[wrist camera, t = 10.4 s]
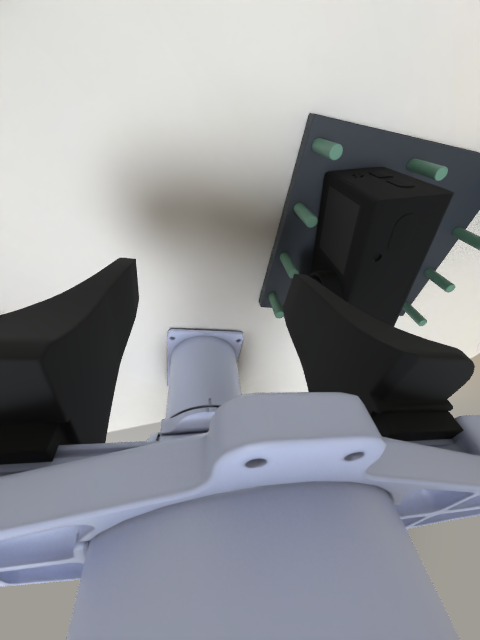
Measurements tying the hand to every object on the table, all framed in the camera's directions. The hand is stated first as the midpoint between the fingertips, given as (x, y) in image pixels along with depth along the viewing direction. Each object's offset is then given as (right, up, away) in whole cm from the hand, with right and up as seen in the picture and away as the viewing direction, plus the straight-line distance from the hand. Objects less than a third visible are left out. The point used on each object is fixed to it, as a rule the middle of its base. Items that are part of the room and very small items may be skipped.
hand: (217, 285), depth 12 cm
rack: (+12, +6, +11) cm, 17 cm away
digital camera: (+9, +5, +10) cm, 14 cm away
